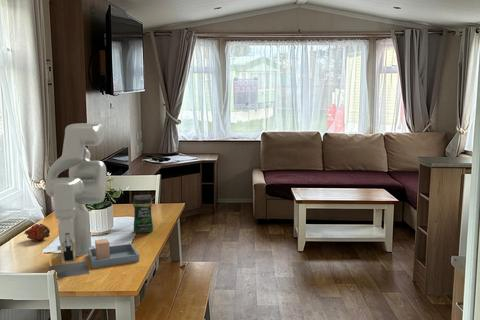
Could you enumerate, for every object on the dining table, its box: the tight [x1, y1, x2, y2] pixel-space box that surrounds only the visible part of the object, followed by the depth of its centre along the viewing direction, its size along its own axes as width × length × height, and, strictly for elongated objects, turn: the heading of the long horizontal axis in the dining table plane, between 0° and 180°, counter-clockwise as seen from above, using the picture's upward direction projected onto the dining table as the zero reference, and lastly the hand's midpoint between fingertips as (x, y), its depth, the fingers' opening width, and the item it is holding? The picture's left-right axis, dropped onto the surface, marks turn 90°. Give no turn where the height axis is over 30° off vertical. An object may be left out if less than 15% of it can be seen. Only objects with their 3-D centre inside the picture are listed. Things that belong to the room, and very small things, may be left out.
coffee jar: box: [132, 194, 154, 234], centre depth 243 cm, size 10×8×19 cm
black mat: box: [49, 260, 90, 279], centre depth 193 cm, size 14×14×1 cm
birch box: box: [60, 238, 77, 264], centre depth 191 cm, size 5×5×8 cm
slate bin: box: [87, 242, 140, 269], centre depth 205 cm, size 19×16×4 cm
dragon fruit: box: [24, 223, 51, 242], centre depth 231 cm, size 8×8×12 cm
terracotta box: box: [94, 238, 110, 260], centre depth 203 cm, size 5×5×8 cm
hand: (68, 257), depth 192 cm, fingers closed on birch box, 5 cm apart
